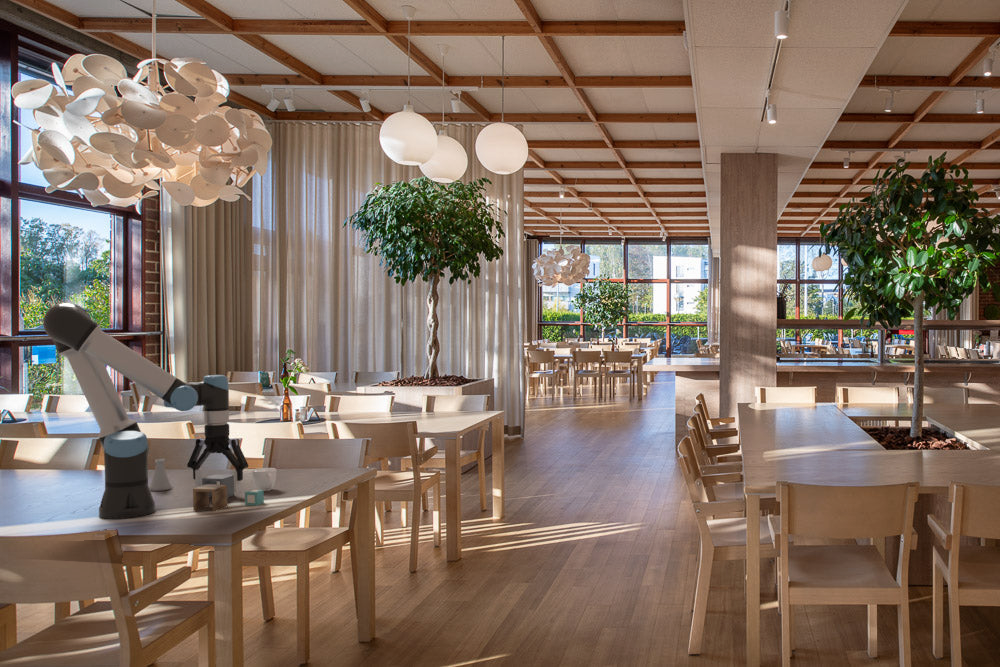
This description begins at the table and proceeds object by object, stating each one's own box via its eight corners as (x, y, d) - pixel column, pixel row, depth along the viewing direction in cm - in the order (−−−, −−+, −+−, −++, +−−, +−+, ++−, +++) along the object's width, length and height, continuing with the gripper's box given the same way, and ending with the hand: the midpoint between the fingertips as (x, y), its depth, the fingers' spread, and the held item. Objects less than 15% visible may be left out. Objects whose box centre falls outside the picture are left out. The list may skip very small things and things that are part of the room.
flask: (164, 491, 288) (163, 461, 288) (144, 491, 289) (143, 461, 289) (176, 487, 295) (175, 458, 295) (157, 487, 296) (156, 457, 296)
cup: (271, 486, 293) (271, 466, 293) (282, 491, 285) (282, 470, 285) (248, 489, 288) (248, 469, 288) (259, 494, 280) (259, 473, 280)
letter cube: (257, 505, 263) (256, 492, 263) (245, 505, 264) (244, 491, 264) (263, 502, 267) (263, 489, 267) (252, 502, 268) (251, 489, 268)
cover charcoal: (222, 499, 273) (222, 478, 273) (202, 499, 275) (202, 478, 275) (234, 495, 280) (233, 475, 280) (214, 494, 281) (214, 474, 281)
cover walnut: (214, 511, 256) (214, 489, 256) (193, 510, 257) (193, 488, 257) (227, 506, 263) (227, 484, 263) (206, 505, 264) (206, 484, 264)
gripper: (258, 422, 278) (259, 489, 278) (188, 421, 283) (189, 486, 284) (246, 425, 270) (247, 493, 271) (175, 424, 276) (176, 491, 276)
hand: (218, 490), depth 277 cm, fingers open, 13 cm apart
